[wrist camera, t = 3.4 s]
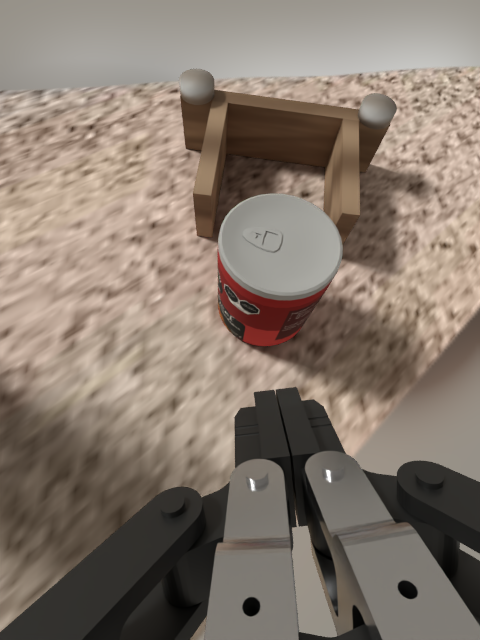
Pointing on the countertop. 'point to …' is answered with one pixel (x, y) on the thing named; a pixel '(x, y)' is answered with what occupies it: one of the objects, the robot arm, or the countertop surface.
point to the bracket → (280, 142)
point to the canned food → (274, 266)
